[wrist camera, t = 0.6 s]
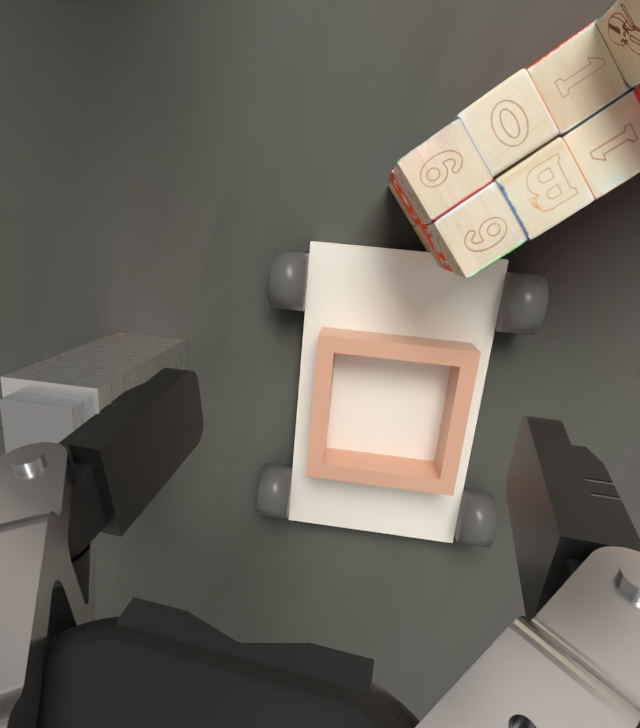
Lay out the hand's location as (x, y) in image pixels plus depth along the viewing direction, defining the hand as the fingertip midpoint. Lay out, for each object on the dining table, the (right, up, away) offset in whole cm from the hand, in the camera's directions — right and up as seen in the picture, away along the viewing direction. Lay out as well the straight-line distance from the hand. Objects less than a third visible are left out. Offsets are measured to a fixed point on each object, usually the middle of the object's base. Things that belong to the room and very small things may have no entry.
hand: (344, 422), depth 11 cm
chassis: (+4, -1, +21) cm, 21 cm away
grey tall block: (-13, +1, +22) cm, 26 cm away
